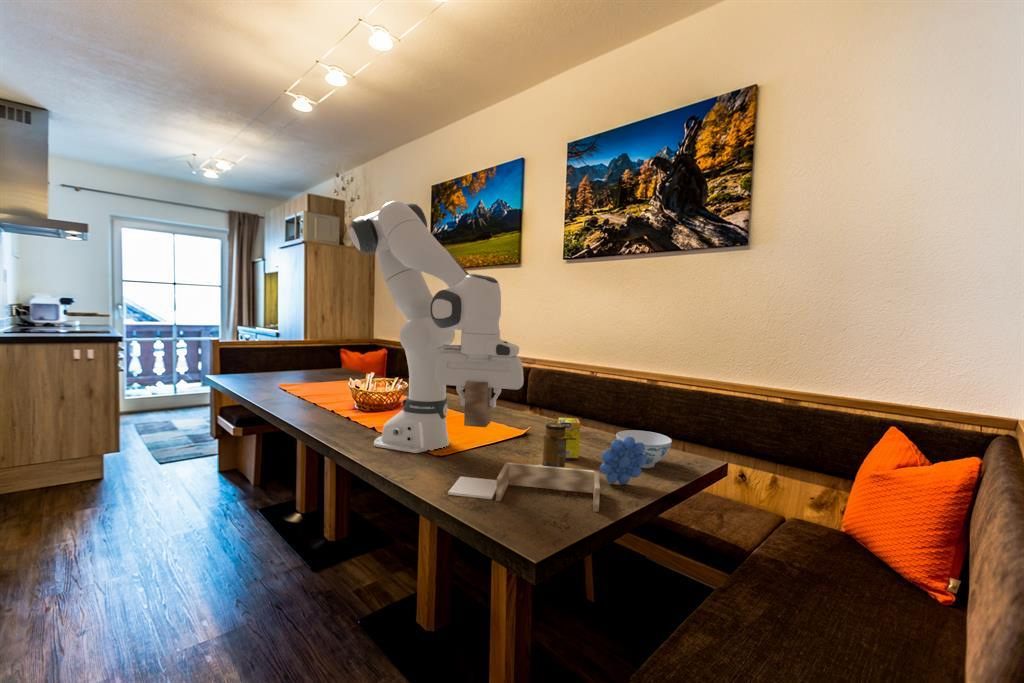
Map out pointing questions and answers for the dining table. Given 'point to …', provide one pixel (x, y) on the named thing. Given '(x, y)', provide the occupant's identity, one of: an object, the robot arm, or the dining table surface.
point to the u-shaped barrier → (549, 479)
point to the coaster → (474, 488)
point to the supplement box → (571, 437)
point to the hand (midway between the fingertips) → (478, 406)
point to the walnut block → (477, 404)
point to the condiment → (554, 445)
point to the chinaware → (649, 444)
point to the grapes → (623, 460)
